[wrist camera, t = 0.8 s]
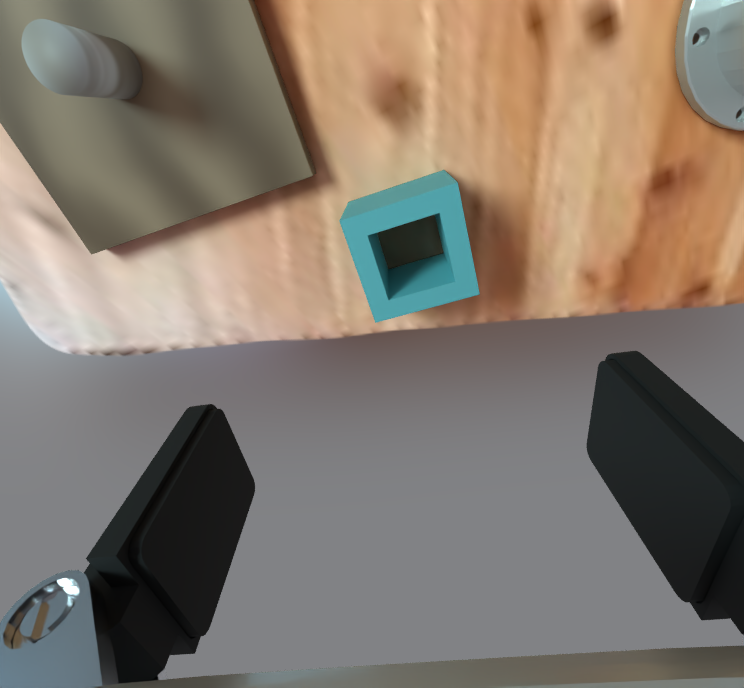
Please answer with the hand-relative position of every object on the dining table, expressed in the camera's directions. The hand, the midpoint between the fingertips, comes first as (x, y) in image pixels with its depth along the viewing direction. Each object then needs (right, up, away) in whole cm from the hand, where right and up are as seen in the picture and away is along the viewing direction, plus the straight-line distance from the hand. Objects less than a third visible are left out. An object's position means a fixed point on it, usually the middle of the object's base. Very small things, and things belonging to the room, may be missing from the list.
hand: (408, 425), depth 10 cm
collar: (+2, +10, +19) cm, 22 cm away
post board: (-16, +19, +15) cm, 29 cm away
